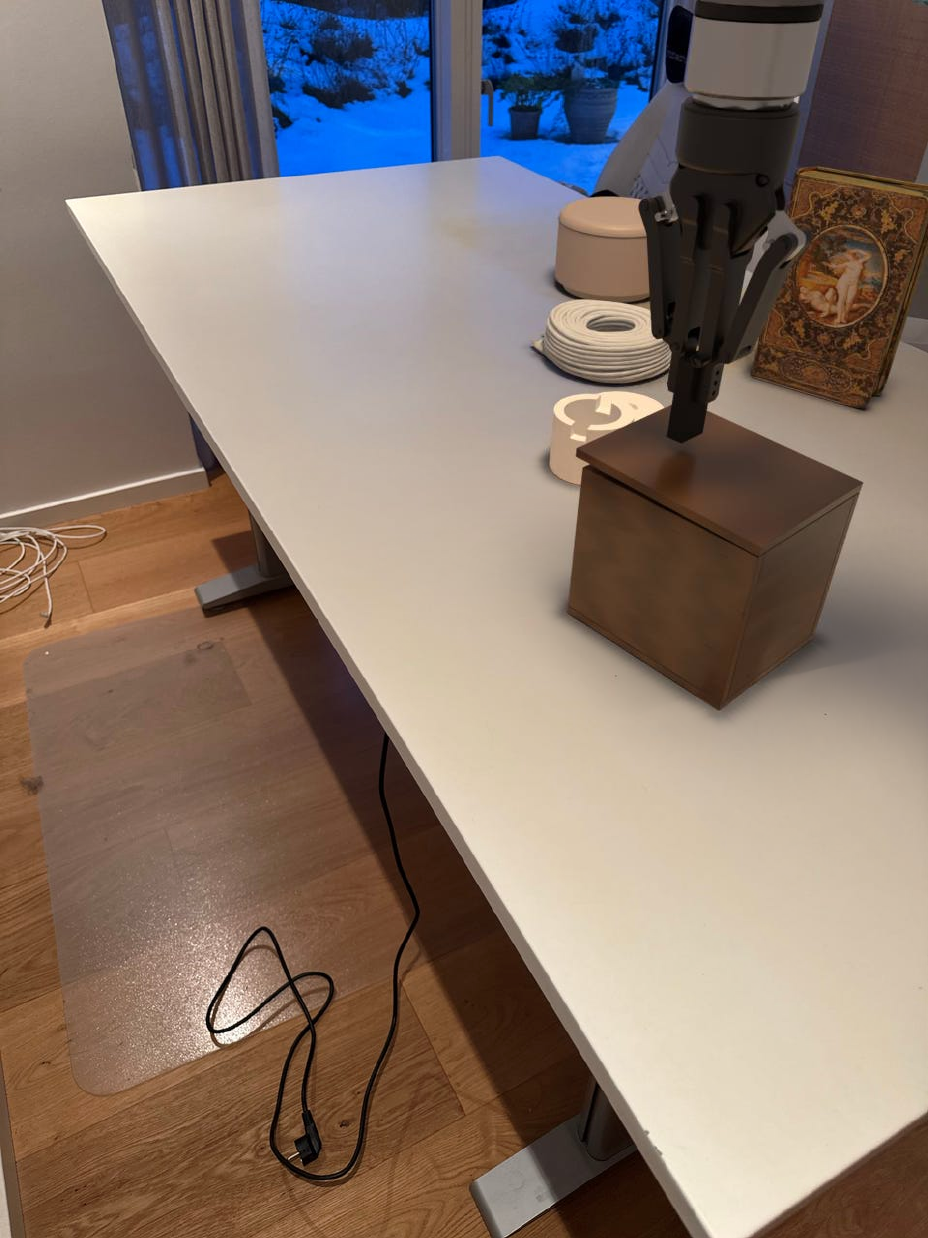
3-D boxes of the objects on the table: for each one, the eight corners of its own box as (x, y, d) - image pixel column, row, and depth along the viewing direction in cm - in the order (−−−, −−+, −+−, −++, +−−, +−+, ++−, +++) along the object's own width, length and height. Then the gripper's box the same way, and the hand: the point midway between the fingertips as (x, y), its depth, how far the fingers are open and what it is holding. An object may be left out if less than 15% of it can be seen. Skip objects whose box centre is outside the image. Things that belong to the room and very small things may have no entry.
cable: (524, 343, 131) (526, 300, 127) (635, 329, 135) (640, 288, 131) (573, 394, 118) (577, 349, 114) (694, 378, 122) (702, 333, 119)
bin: (566, 612, 83) (581, 467, 74) (662, 556, 90) (687, 417, 81) (719, 710, 73) (758, 557, 64) (813, 638, 80) (860, 491, 71)
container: (532, 288, 148) (536, 211, 141) (590, 260, 160) (596, 188, 152) (630, 314, 140) (640, 234, 133) (684, 283, 151) (696, 207, 144)
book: (745, 375, 123) (788, 172, 108) (763, 362, 127) (807, 164, 111) (866, 411, 115) (932, 198, 100) (882, 396, 118) (948, 188, 103)
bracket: (610, 493, 99) (617, 437, 95) (536, 473, 102) (540, 418, 98) (669, 419, 113) (678, 367, 109) (602, 403, 116) (608, 352, 112)
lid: (575, 456, 74) (576, 447, 73) (681, 407, 81) (683, 399, 80) (758, 557, 64) (761, 547, 63) (860, 491, 71) (863, 482, 71)
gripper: (867, 105, 57) (782, 450, 71) (695, 78, 64) (650, 395, 79) (799, 120, 53) (724, 482, 67) (625, 89, 60) (591, 420, 75)
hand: (684, 434), depth 73 cm, fingers closed
